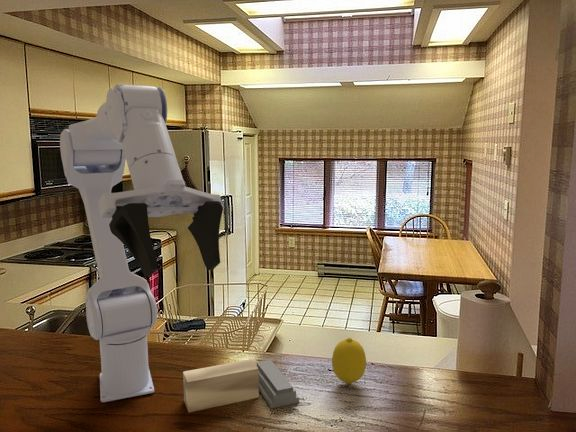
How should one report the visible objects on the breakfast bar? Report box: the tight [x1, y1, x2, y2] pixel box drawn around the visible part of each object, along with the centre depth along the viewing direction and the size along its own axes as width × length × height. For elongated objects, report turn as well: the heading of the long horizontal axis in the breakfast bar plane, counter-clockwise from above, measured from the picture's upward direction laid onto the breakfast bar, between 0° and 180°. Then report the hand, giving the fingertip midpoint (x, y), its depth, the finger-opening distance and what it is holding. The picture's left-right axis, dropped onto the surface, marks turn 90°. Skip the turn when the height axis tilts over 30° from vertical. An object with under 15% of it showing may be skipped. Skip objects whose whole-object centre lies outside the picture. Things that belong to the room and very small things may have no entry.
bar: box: [182, 359, 260, 413], centre depth 75 cm, size 4×11×5 cm, turn 112°
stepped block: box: [256, 359, 300, 409], centre depth 77 cm, size 10×4×3 cm, turn 22°
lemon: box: [331, 337, 367, 386], centre depth 79 cm, size 6×6×8 cm
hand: (184, 269), depth 53 cm, fingers open, 7 cm apart
